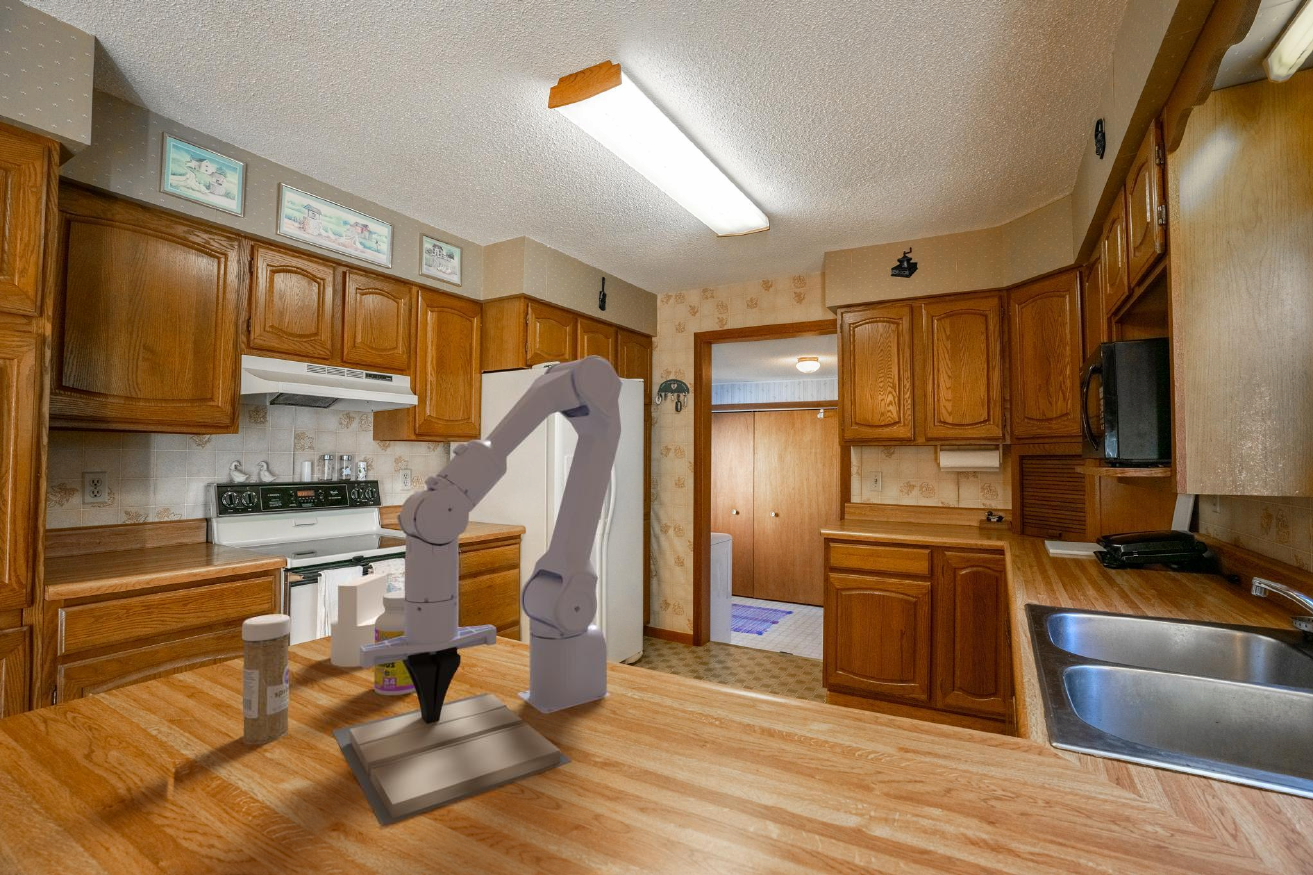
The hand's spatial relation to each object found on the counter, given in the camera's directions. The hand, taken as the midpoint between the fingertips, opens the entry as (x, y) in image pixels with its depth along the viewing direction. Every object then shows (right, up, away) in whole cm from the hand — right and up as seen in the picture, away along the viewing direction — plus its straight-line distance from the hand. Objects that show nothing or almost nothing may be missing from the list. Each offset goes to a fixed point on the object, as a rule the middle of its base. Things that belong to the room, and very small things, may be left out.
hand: (430, 719), depth 70 cm
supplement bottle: (-9, -3, +14) cm, 17 cm away
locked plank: (+7, -1, -9) cm, 11 cm away
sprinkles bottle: (-18, -2, -1) cm, 18 cm away
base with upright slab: (-21, -3, +28) cm, 35 cm away
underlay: (+3, -2, -3) cm, 5 cm away
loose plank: (+1, -1, -1) cm, 2 cm away
